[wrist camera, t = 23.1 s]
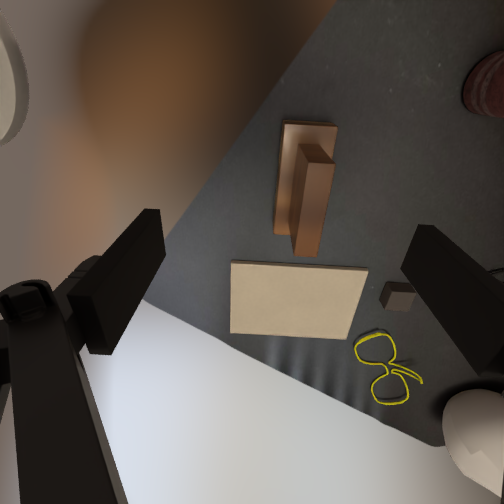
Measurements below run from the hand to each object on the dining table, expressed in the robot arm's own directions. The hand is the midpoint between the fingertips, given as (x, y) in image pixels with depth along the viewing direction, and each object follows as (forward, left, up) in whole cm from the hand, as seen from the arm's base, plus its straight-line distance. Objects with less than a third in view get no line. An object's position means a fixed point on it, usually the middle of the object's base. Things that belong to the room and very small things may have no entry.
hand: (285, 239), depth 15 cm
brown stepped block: (+4, -4, -25) cm, 25 cm away
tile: (+6, -26, -25) cm, 36 cm away
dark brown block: (+23, -23, -25) cm, 41 cm away
